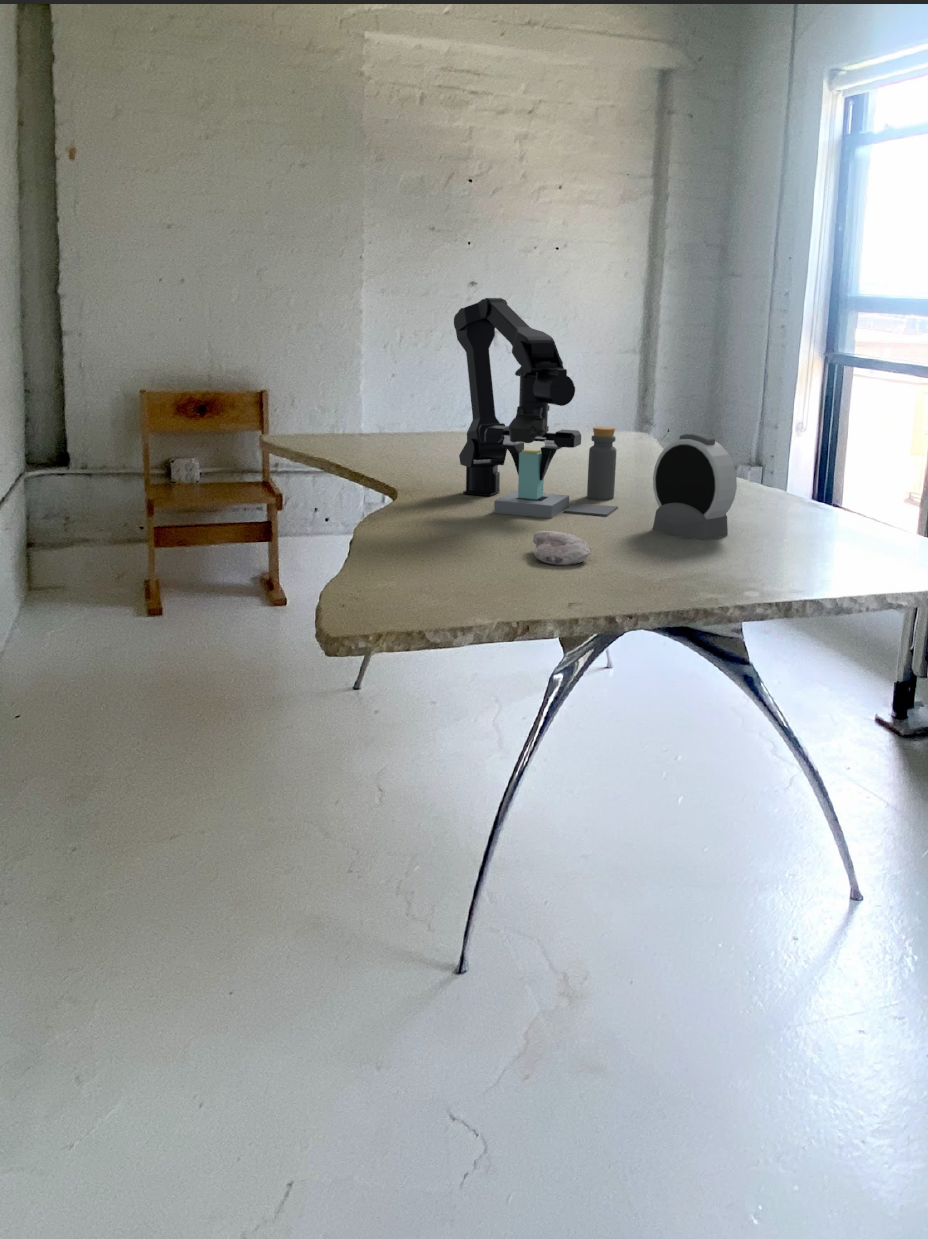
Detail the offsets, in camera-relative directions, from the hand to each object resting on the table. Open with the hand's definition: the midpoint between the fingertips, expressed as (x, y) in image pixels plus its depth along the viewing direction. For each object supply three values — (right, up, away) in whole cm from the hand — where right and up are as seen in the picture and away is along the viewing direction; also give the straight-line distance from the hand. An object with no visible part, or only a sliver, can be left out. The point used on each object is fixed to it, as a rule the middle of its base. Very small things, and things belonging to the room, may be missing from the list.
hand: (531, 479), depth 215 cm
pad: (+12, -6, +2) cm, 14 cm away
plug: (0, -3, +1) cm, 4 cm away
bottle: (+16, -2, +16) cm, 23 cm away
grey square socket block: (0, -6, +2) cm, 6 cm away
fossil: (+2, -18, -36) cm, 41 cm away
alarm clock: (+29, -12, -15) cm, 35 cm away
